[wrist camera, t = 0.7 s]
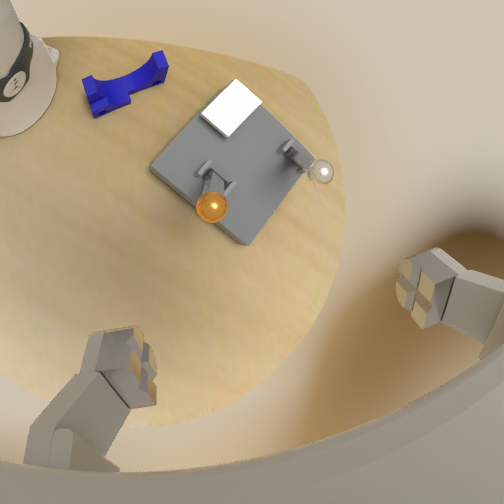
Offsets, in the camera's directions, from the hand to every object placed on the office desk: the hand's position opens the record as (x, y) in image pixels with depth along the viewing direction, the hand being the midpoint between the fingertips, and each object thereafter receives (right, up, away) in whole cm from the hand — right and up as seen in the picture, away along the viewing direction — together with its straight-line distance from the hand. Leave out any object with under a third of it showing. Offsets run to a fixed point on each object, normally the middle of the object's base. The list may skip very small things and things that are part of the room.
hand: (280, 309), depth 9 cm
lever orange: (-6, +11, +31) cm, 34 cm away
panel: (-4, +15, +37) cm, 40 cm away
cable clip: (-20, +26, +30) cm, 44 cm away
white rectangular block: (-4, +21, +30) cm, 37 cm away
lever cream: (+6, +16, +35) cm, 39 cm away
